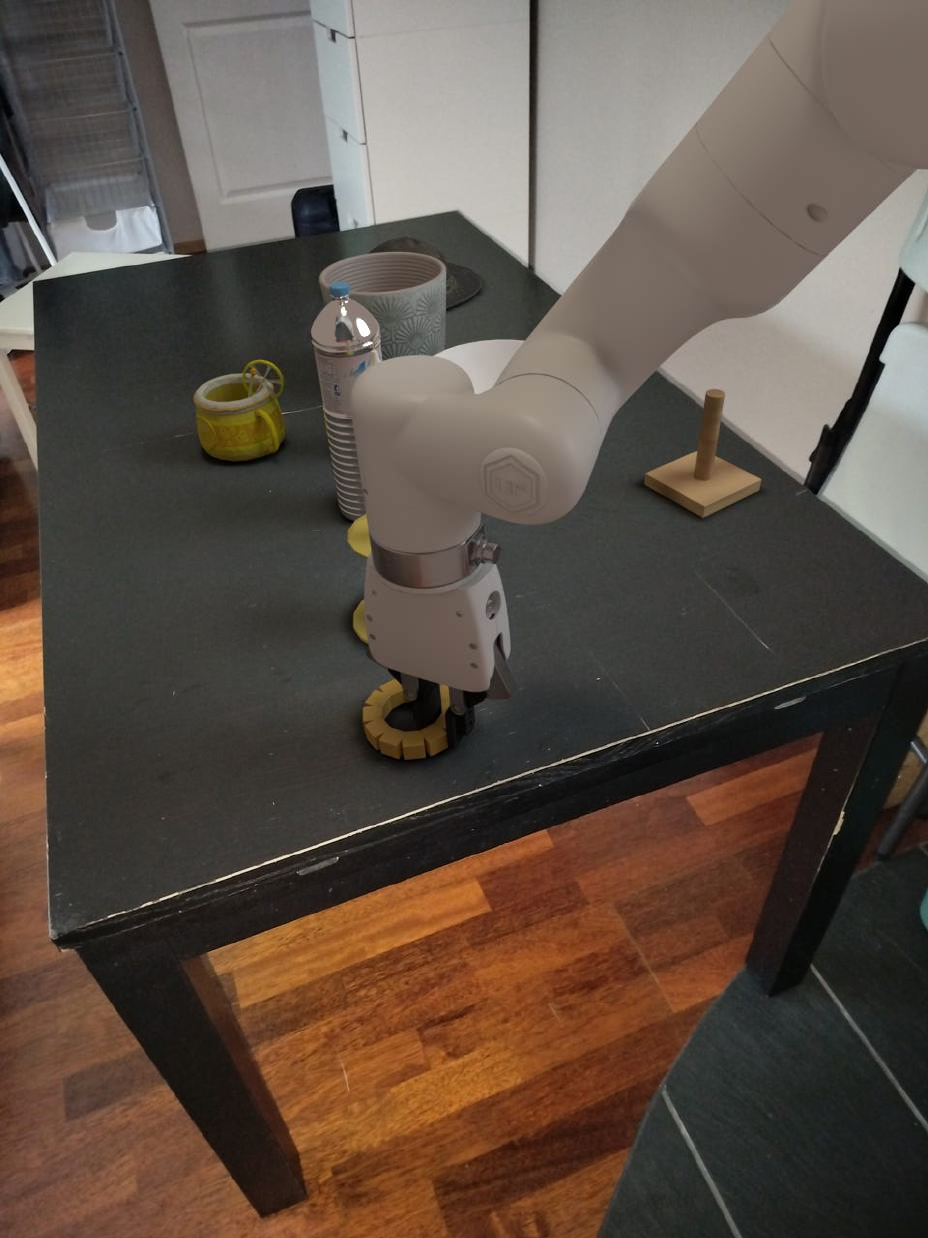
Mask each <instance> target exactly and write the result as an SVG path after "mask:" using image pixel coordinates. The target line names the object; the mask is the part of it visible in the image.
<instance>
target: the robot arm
mask: <svg viewBox="0 0 928 1238" xmlns="http://www.w3.org/2000/svg"><path fill="white" fill-rule="evenodd" d="M918 170H928V0H793V1H792V3H790V5H789V6H788V7H787V9H786V10H785V11H784V12H783V14H782V15H781V16H780V17H779V18H778V20H777V21H776V23H774V25H773V26H772V27H771V29H770V30H769V31H768V32H767V34H765V36H764V38H763V39H762V40H761V41H760V42H759V44H758V45H757V46H756V47H755V49H754V50H753V51H752V52H751V53H750V55H749V56H748V57H747V59H746V60H745V62H743V64H742V65H741V66H740V67H739V69H738V70H737V71H736V72H735V74H734V75H733V76H732V77H731V79H730V80H729V81H728V82H727V84H725V86H724V88H723V89H722V90H721V91H720V93H718V95H716V97H715V98H714V100H713V101H712V102H711V104H709V106H708V108H706V110H705V111H704V112H703V113H702V114H701V116H700V117H699V118H698V120H697V121H696V122H695V123H694V124H693V125H692V127H691V128H690V129H689V130H688V132H687V133H686V134H685V136H684V137H683V138H682V139H681V140H680V142H679V143H678V144H677V146H676V147H675V148H674V149H673V150H672V152H671V153H670V154H669V155H668V156H667V157H666V158H665V160H664V161H663V162H662V163H661V164H660V166H659V167H658V169H657V170H656V171H655V172H654V173H653V174H652V175H651V177H650V179H649V180H648V181H647V182H646V183H645V185H644V186H643V188H642V189H641V190H640V192H638V194H637V195H636V196H635V198H634V199H633V200H632V201H631V203H630V205H629V206H628V208H627V210H626V211H625V214H624V215H623V217H622V219H621V221H620V222H619V224H618V225H617V227H616V228H615V229H614V231H613V232H612V233H611V235H610V236H609V237H608V238H607V239H606V240H605V242H604V243H603V244H602V245H601V247H600V248H599V249H598V250H597V252H596V253H595V255H593V257H592V258H591V259H590V260H589V261H588V263H587V264H586V265H585V266H584V267H583V269H581V271H580V272H579V274H578V275H577V276H576V278H575V279H574V280H573V281H572V283H570V285H569V286H568V287H567V288H566V289H565V291H564V292H563V293H562V295H560V296H559V298H558V299H557V301H556V302H555V303H554V304H553V305H552V307H551V308H550V309H549V310H548V312H547V313H546V314H545V315H544V317H543V318H542V319H541V321H540V322H539V323H537V325H536V326H535V328H534V329H533V331H531V332H530V334H529V335H527V336H528V337H526V339H525V340H523V341H524V343H523V344H522V345H521V346H520V348H519V349H518V350H517V352H516V353H515V354H514V356H513V357H512V358H511V360H510V361H509V363H508V364H507V366H506V367H505V368H504V370H503V371H502V373H501V374H500V376H499V377H498V379H497V381H496V382H495V384H494V385H493V387H492V388H491V389H489V390H487V391H485V392H483V393H480V394H475V393H474V388H473V384H472V382H471V380H470V378H469V376H468V374H467V373H466V372H465V371H464V370H463V368H461V367H460V366H459V365H457V364H455V363H453V362H452V361H450V360H447V359H444V358H440V357H435V356H425V355H411V356H402V357H396V358H391V359H387V360H384V361H381V362H379V363H376V364H374V365H372V366H370V367H369V368H368V369H366V370H365V371H364V372H362V373H361V374H360V375H359V376H358V378H357V379H356V381H355V383H354V385H353V387H352V391H351V397H350V405H351V415H352V422H353V429H354V436H355V442H356V449H357V456H358V463H359V469H360V476H361V483H362V489H363V496H364V502H365V509H366V516H367V522H368V530H369V537H370V543H371V550H372V551H371V552H370V554H369V556H368V559H366V567H365V574H364V589H363V599H364V608H365V623H366V632H367V638H368V643H369V645H367V648H366V651H365V655H366V657H367V658H368V659H369V660H370V661H372V662H373V663H376V664H377V665H379V666H380V667H382V668H384V669H385V670H386V669H387V672H388V673H389V674H390V676H392V677H393V678H394V679H396V680H397V681H398V682H399V683H400V684H401V685H402V689H403V694H404V696H405V697H406V698H407V699H409V700H411V702H410V703H411V710H412V716H413V717H412V719H413V720H414V721H415V726H416V727H415V728H416V731H420V730H422V729H424V728H426V727H428V726H430V725H432V724H434V723H435V722H436V720H437V719H438V717H439V716H440V714H441V694H440V684H442V685H446V686H448V689H449V698H450V706H449V707H448V709H447V710H446V712H445V722H446V733H447V743H448V747H449V748H452V749H457V748H458V747H459V746H460V744H461V742H462V741H463V739H464V738H465V737H469V736H470V735H471V734H472V732H473V730H474V728H475V725H476V715H475V706H477V705H479V704H481V703H483V702H484V701H485V700H490V701H493V700H494V701H495V700H497V701H498V700H509V699H510V698H511V696H512V694H513V693H514V691H515V690H516V688H517V683H516V680H515V679H514V677H513V674H512V673H511V671H510V669H509V666H508V664H507V661H508V659H509V657H510V655H511V646H512V645H511V632H510V624H509V623H510V622H509V614H508V607H507V602H506V595H505V592H504V586H503V582H502V579H501V576H500V572H499V570H498V569H499V568H498V566H497V562H498V561H499V559H500V556H501V545H500V544H498V543H493V542H491V541H490V540H489V539H487V538H486V537H485V523H482V514H484V515H486V516H490V517H492V518H494V519H495V518H496V519H498V520H501V521H505V522H509V523H513V524H519V525H527V526H528V525H529V526H537V525H539V526H540V525H544V524H545V525H546V524H549V523H552V522H555V521H557V520H560V519H561V518H563V517H564V516H566V515H567V514H568V513H570V512H571V511H572V509H574V508H575V506H576V505H577V504H578V502H579V501H580V500H581V498H582V496H583V494H584V492H585V490H586V487H587V485H588V483H589V480H590V478H591V475H592V472H593V469H594V467H595V465H596V463H597V459H598V456H599V453H600V450H601V448H602V444H603V442H604V439H605V437H606V434H607V433H608V429H609V427H610V425H611V423H612V421H613V418H614V417H615V415H616V414H617V413H618V411H619V410H620V409H621V408H622V407H623V406H624V404H625V403H626V402H627V401H628V400H629V399H630V398H631V397H632V396H633V395H634V394H635V393H636V392H637V391H638V390H639V389H640V388H641V386H643V384H644V383H645V382H647V380H649V378H650V377H651V376H652V375H653V374H654V373H655V372H656V371H657V370H658V369H659V368H660V367H662V365H663V364H664V363H665V362H666V361H667V360H668V359H670V357H671V356H672V355H674V354H675V353H676V352H677V351H678V350H679V349H680V348H682V347H683V345H684V344H686V343H688V341H690V340H691V339H692V338H693V337H695V336H696V335H697V334H699V333H701V332H702V331H703V330H705V329H707V328H709V327H710V326H712V325H714V324H717V323H719V322H722V321H725V320H726V321H727V320H733V319H746V318H747V319H748V318H752V317H755V316H758V315H762V314H764V313H765V312H768V311H769V310H771V309H773V308H774V307H776V306H777V305H779V304H780V303H781V302H782V301H784V299H785V298H786V297H788V296H789V294H791V293H792V292H793V291H794V290H795V288H796V287H798V285H799V284H800V283H802V281H804V280H805V279H806V277H808V276H809V275H810V274H811V273H812V272H813V271H814V270H815V269H816V268H817V267H818V266H819V265H820V264H821V263H822V262H823V261H824V260H825V259H826V258H827V257H828V256H829V255H830V254H831V253H832V252H833V251H834V250H835V249H836V248H837V247H838V246H839V245H840V244H841V243H842V242H843V241H844V240H845V239H846V238H847V237H848V236H849V235H851V234H852V233H853V231H854V230H856V229H857V228H858V226H860V225H861V224H862V223H863V222H864V221H865V220H866V219H867V218H868V217H869V216H870V215H871V214H872V213H874V211H875V210H876V209H877V208H878V207H879V206H881V204H883V203H884V201H886V199H888V198H889V197H890V196H891V195H892V194H893V193H894V192H896V190H897V189H898V188H899V187H900V186H901V185H902V184H903V183H904V182H905V181H906V180H907V179H909V178H910V177H911V176H912V175H913V174H914V173H916V172H917V171H918Z"/></svg>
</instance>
